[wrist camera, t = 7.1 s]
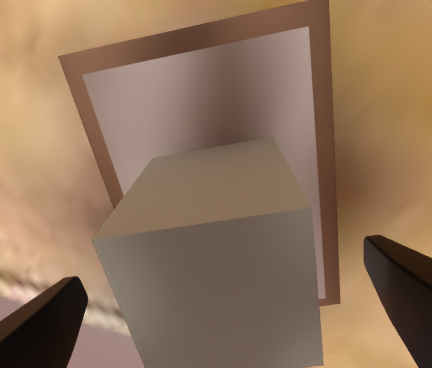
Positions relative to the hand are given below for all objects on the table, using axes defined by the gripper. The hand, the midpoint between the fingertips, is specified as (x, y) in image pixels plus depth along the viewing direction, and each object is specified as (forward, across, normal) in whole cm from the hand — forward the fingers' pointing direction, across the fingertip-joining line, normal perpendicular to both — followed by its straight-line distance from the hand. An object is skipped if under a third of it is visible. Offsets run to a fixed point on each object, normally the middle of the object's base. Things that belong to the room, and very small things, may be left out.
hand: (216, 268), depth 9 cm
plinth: (+8, 0, 0) cm, 8 cm away
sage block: (+4, 0, 0) cm, 4 cm away
